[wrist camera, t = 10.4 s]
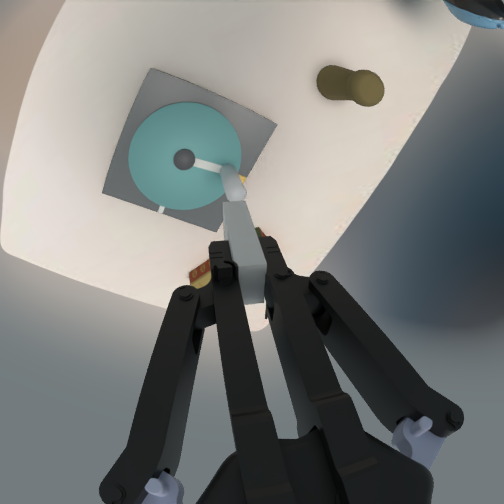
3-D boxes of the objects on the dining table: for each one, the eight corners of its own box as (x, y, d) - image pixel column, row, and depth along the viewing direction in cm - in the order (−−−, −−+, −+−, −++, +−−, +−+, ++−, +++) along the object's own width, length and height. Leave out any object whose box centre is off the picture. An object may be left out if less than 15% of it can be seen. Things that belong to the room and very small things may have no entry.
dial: (120, 192, 38) (105, 223, 31) (148, 89, 31) (135, 93, 23) (217, 215, 44) (225, 250, 37) (256, 122, 37) (275, 136, 29)
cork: (352, 97, 38) (393, 108, 30) (320, 103, 38) (357, 114, 30) (346, 63, 35) (388, 66, 26) (312, 67, 35) (349, 69, 26)
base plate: (152, 68, 31) (150, 67, 29) (273, 122, 39) (278, 125, 37) (105, 187, 39) (101, 193, 38) (215, 226, 48) (216, 233, 46)
